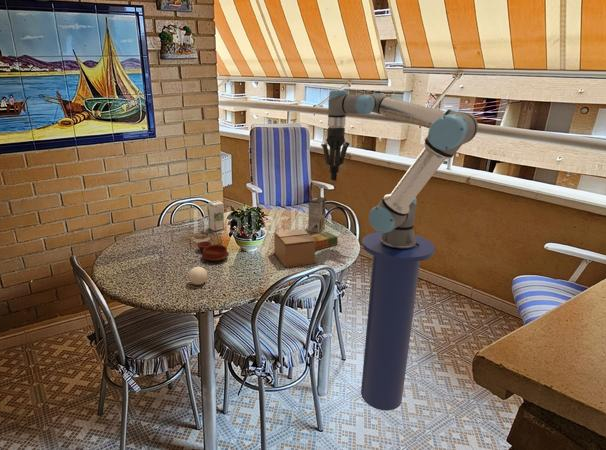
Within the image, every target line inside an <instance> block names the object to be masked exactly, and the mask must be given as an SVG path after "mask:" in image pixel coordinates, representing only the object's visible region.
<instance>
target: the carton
mask: <svg viewBox="0 0 606 450" xmlns="http://www.w3.org/2000/svg"><path fill="white" fill-rule="evenodd" d="M310 236H311V237H312V238H313V239H314V240H315V241H314V242H315V251H317V250H321V249H324V248H328V247H329V248H330V247H333V246H336V245H338V242H339V241H338V238H339V237H338V236H337V235H335V234H332V233H330V232H328V231H323V232H320V233H315V234H311V235H310Z"/></svg>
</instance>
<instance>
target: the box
mask: <svg viewBox="0 0 606 450" xmlns="http://www.w3.org/2000/svg"><path fill="white" fill-rule="evenodd" d="M273 237H274V239H273V240H274V242H273V243H274V245H273V247H274V250H273V253H274V255H275V256H276V258H277V259H278V260H279V262H281V264H282V265H283V267H284V268H289V267H296V266H304V265H312V264H315V263H316V261H315V260H316V250H315V242H314V241H315V240H314V239H313V238H312V237H311V235H310V233H308V234H307V235H299V236H290V237H281V238H280V237H279V236H278V235H277V234H276V233H275V232H274V236H273Z"/></svg>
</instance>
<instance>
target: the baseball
mask: <svg viewBox="0 0 606 450" xmlns="http://www.w3.org/2000/svg"><path fill="white" fill-rule="evenodd" d="M208 276H209V274H208V271H207V270H206V269H205V268H204V267H202V266H195V267H192V268H191V269H190V270H189V272H188V279H189V282H190V283H191V284H192V285H196V286H199V285H203V284H204V283H205V282H206V281H207V279H208Z"/></svg>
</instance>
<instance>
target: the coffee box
mask: <svg viewBox="0 0 606 450" xmlns="http://www.w3.org/2000/svg"><path fill="white" fill-rule="evenodd" d="M326 201H327V198H326V197H321V196H315V195H314V196H312V198H311V199H309V200H308V216H307V217H308V218H307V219H308V220H307V232H311V233H316V234H319V233H322V231H323V230H324V229H325V227H326V204H327V203H326Z"/></svg>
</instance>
